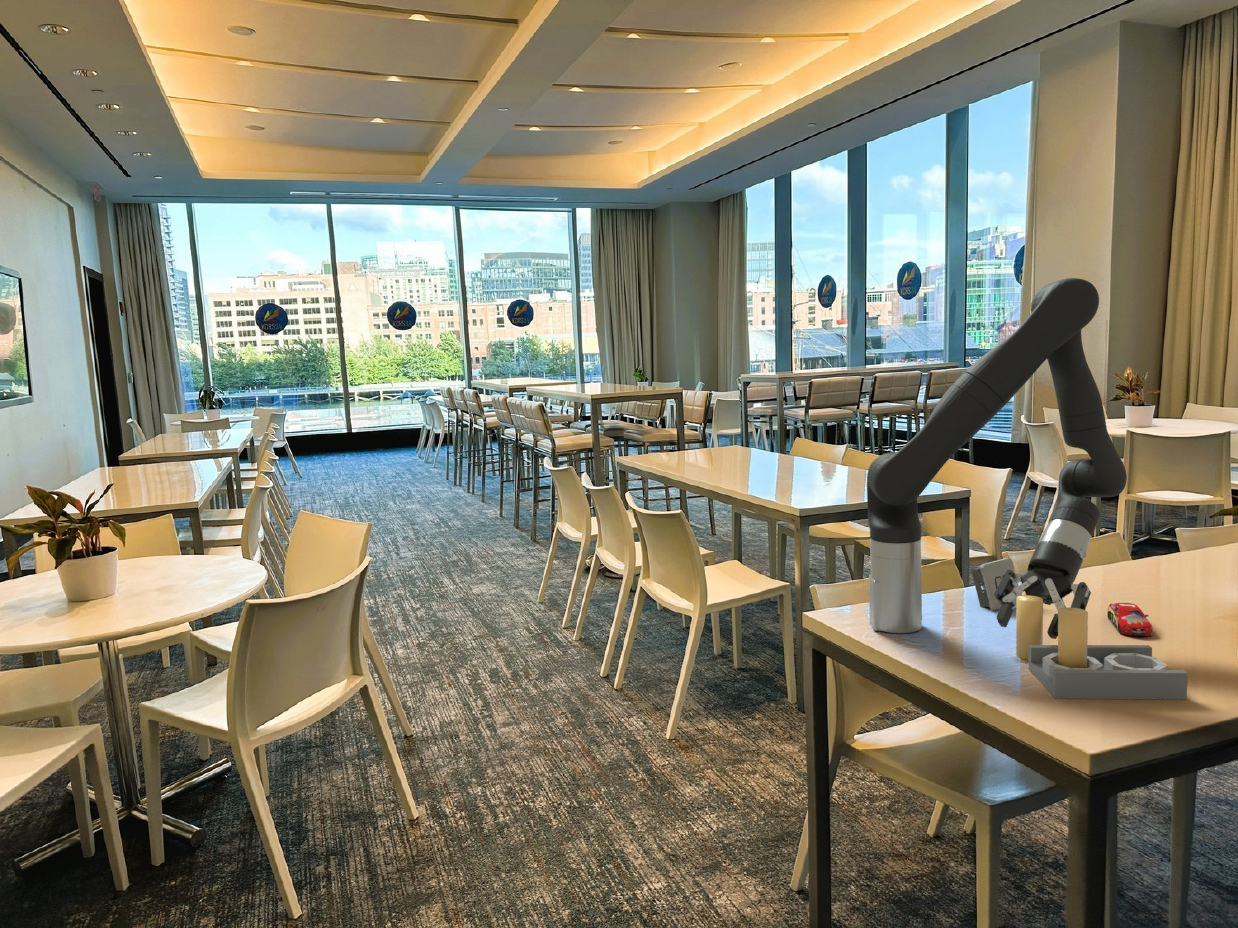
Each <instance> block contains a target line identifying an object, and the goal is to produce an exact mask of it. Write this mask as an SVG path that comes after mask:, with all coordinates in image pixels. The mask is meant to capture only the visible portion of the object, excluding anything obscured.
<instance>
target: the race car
mask: <svg viewBox="0 0 1238 928" xmlns="http://www.w3.org/2000/svg"><path fill="white" fill-rule="evenodd" d="M1106 613H1107V616H1106V617H1107V619H1108V620H1109V622H1110V623H1111V624H1112V625H1113V627H1115V629H1116V630H1117V632H1118V633H1119V635H1124V634H1125V635H1127V636H1133V637H1134V636H1135V637H1148V636H1149V635H1150V636H1151V635H1152V636H1153V630H1154V629H1153V625H1152V623H1151V622H1150V621H1149V619H1148V618H1147V617H1149V614H1144V611H1143V610H1142V609H1141V608H1140V607H1139V606H1138V605H1137V604H1135V603H1131V602H1112V603H1110V604H1109V605H1108V608H1107V612H1106ZM1150 636H1149V637H1150Z"/></svg>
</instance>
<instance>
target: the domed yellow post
mask: <svg viewBox="0 0 1238 928" xmlns="http://www.w3.org/2000/svg"><path fill="white" fill-rule="evenodd" d="M1015 608H1016V610H1015V611H1016V614H1015V615H1016V617H1015V618H1016V619H1015V620H1016V628H1015V629H1016V630H1015V632H1016V633H1015V635H1016V636H1015V638H1016V641H1015V643H1016V646H1015V647H1016V648H1015V651H1016V652H1015V655H1016V657H1017V658H1019V659H1022V660H1027V661H1028V660H1029V645H1044V644H1043V637H1044V636H1043V634H1044V633H1043V630H1044V629H1043V627H1044V626H1043V625H1044V619H1043V618H1044V617H1043V615H1044V603H1043V599H1042V598H1040V597H1036V596H1023V595H1022V596H1018V597H1017V605H1016V607H1015Z"/></svg>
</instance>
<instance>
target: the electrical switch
mask: <svg viewBox="0 0 1238 928" xmlns="http://www.w3.org/2000/svg"><path fill="white" fill-rule="evenodd" d="M1009 569H1011V570H1012V571H1013V572H1014V573H1016V570H1015V567H1014V563H1013V559H1012V558H1011V557H1005V558H1002V559H998V560H997V559H996V560H994V561H990V562H986V563H983V564H980V565H979V567H976V568H971V574H972V579H973V583H974V587H975V590H976V591H975V592H976V594H977V599H978V603H979V606H980V607H981V608H983V607H989V609H990V610H991V611H997V610H998V611H999V610H1000V607H1001V605H1002V604H1000V603H999V602H998V600H997V599H996V597H995V596H994V593H995V591H996V590H997V588H998V586H999V584H1000V582H1001V580H1002V578H1003V577H1004V575H1005V573H1006V571H1007V570H1009ZM1019 585H1020V584H1019V583H1018V584H1017V586H1019ZM1017 586H1014V588H1016V587H1017ZM1014 588H1013V589H1014ZM1012 592H1013V590H1012Z"/></svg>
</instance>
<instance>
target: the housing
mask: <svg viewBox="0 0 1238 928" xmlns="http://www.w3.org/2000/svg"><path fill="white" fill-rule="evenodd" d="M1057 613H1058V636H1057V644H1051V645H1050V644H1046V645H1045V644H1043V645H1029V660H1027V661H1028V664H1027V665H1028V670H1029V672H1031V673H1032V674H1033V676H1034V677H1035V678H1036V679H1037V680H1038V681H1039V682H1040V684H1042V685H1043V686H1044V688H1045V689H1046V690H1047V691H1048V693H1050V694H1051V696H1052V697H1054V699H1083V700H1085V699H1086V700H1088V699H1089V700H1090V699H1091V700H1093V699H1094V700H1097V699H1099V700H1101V699H1102V700H1109V699H1110V700H1176V701H1177V700H1182V701H1183V700H1186V701H1187V700H1188V678H1189V677H1188V676H1189V675H1188V672H1187V671H1185V670H1183V669H1168V665H1167V664H1166V663H1165V662H1163V661H1162V660H1160V658H1157V657H1155V656H1153V647H1152V646H1150V645H1149V644H1148V645H1147V644H1146V645H1144V644H1140V645H1138V644H1134V645H1132V644H1130V645H1129V644H1128V645H1126V644H1124V645H1123V644H1118V645H1117V644H1104V645H1103V644H1101V645H1100V644H1094V645H1093V644H1088V636H1089V635H1088V634H1089V633H1088V631H1089V628H1088V627H1089V624H1088V622H1089V612H1088V611H1087V610H1086V609H1085V610H1083V609H1079V608H1071V606H1069V607H1067V606H1066V608H1060V609H1059V610H1058V611H1057Z"/></svg>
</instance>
